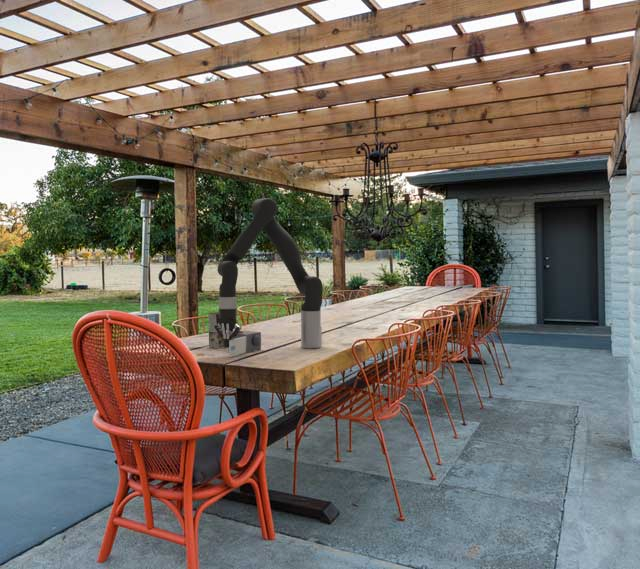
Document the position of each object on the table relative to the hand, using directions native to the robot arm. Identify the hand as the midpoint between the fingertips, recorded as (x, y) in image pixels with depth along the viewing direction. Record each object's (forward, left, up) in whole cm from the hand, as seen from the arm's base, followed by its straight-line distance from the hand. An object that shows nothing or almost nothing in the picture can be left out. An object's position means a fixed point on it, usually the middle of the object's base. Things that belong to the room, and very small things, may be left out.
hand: (227, 347), depth 241 cm
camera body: (-16, -4, -4) cm, 17 cm away
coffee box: (-17, -21, -4) cm, 27 cm away
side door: (-4, +3, -3) cm, 6 cm away
